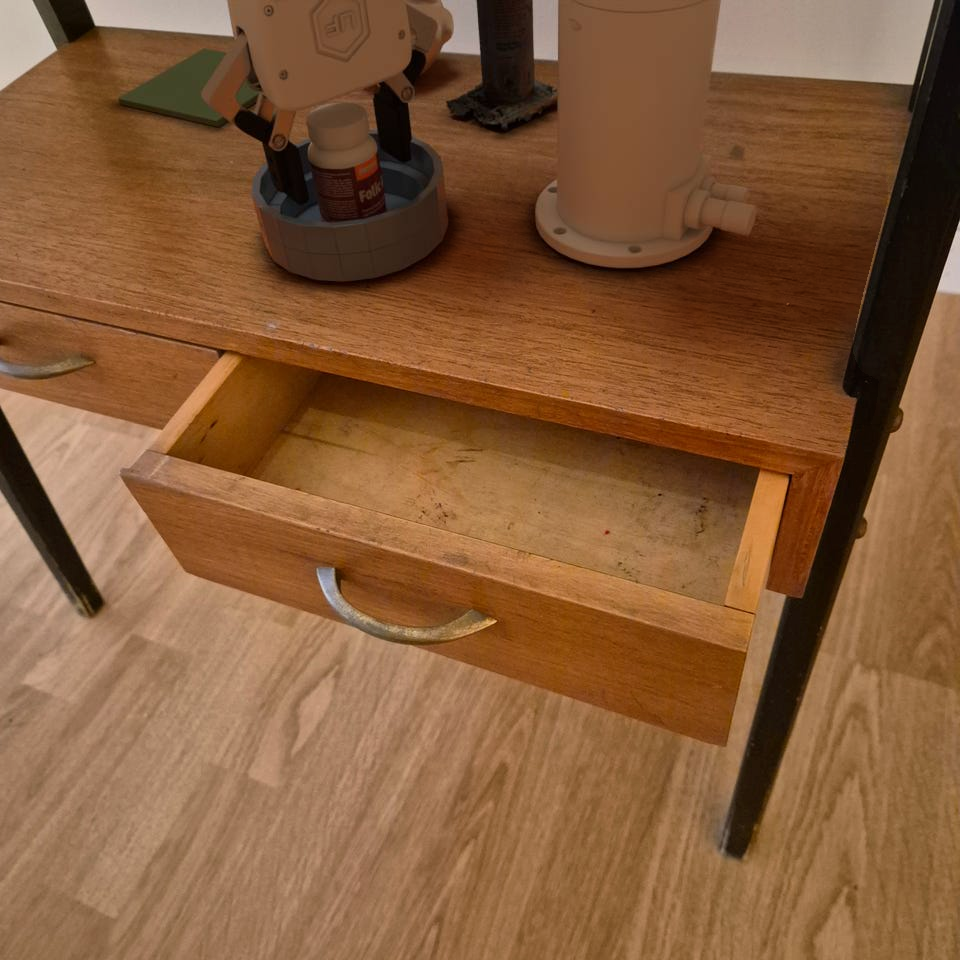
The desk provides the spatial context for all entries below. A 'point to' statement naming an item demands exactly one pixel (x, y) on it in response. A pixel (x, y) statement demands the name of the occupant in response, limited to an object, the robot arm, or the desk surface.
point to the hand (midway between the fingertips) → (346, 173)
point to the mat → (185, 90)
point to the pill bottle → (344, 163)
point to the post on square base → (505, 67)
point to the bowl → (357, 221)
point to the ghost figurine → (432, 6)
